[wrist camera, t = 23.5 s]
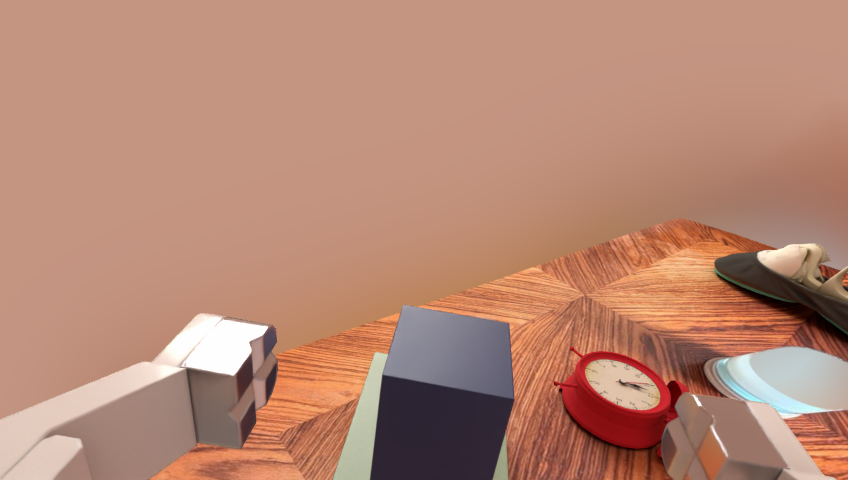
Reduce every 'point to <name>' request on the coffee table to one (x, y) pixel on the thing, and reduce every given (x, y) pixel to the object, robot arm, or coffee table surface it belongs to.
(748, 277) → the ballet flat
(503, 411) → the dark blue l-shaped block
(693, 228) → the coffee table surface
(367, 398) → the shoe rack
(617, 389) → the alarm clock
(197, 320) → the robot arm
